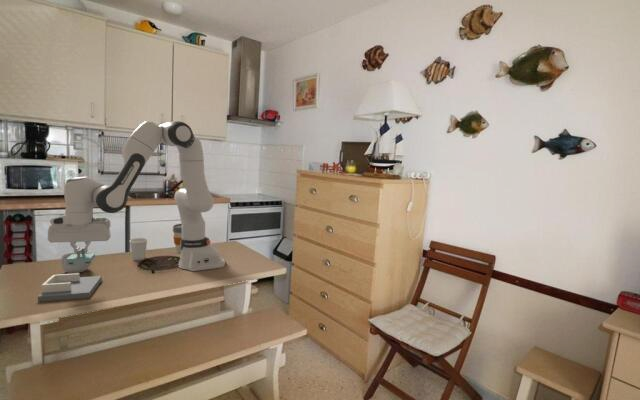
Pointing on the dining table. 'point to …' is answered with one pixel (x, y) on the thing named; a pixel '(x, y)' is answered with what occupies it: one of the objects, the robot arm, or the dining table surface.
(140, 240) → the dixie cup
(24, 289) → the dining table surface
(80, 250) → the trolley
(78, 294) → the dock
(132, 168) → the robot arm
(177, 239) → the reusable coffee cup
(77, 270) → the teacup
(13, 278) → the dining table surface
